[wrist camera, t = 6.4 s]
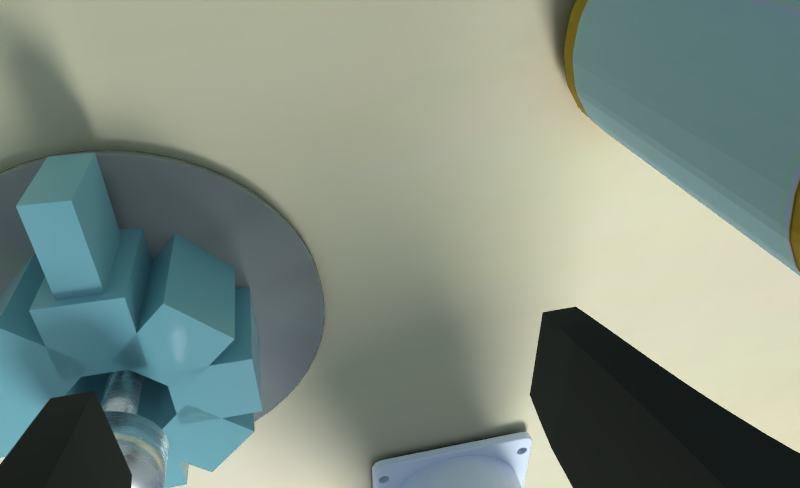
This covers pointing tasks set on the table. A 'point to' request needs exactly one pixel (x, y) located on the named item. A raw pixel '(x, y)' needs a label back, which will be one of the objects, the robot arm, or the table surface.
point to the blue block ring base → (151, 297)
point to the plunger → (135, 430)
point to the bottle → (701, 101)
